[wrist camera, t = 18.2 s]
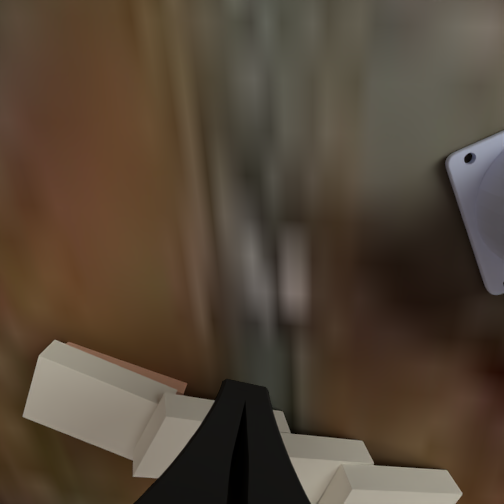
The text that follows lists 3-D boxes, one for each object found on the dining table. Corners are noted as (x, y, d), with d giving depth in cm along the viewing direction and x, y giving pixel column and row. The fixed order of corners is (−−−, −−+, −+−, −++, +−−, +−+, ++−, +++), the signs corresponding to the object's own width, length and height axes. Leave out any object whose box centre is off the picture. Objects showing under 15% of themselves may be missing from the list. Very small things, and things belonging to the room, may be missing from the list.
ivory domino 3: (374, 463, 24) (258, 454, 21) (337, 512, 26) (225, 510, 23) (362, 440, 25) (252, 429, 22) (328, 489, 27) (222, 484, 24)
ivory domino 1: (169, 408, 22) (38, 355, 22) (144, 465, 24) (22, 416, 24) (177, 389, 24) (54, 339, 23) (152, 444, 26) (38, 398, 25)
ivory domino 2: (290, 433, 23) (166, 416, 20) (253, 484, 25) (132, 476, 22) (282, 411, 25) (164, 392, 22) (247, 461, 26) (133, 450, 23)
